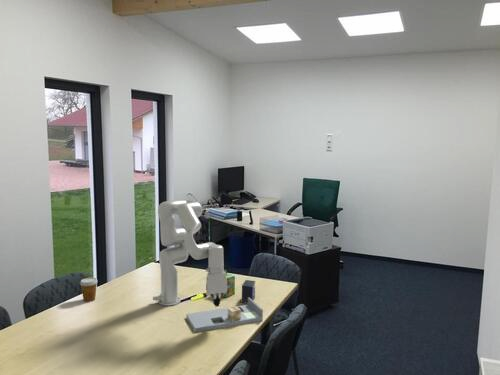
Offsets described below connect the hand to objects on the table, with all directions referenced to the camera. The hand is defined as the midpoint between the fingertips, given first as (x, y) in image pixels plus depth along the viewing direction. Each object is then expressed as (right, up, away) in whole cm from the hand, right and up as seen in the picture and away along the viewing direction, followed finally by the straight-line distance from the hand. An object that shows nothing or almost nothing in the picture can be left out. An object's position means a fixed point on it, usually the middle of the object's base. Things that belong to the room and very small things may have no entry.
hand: (216, 305), depth 201 cm
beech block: (+9, -8, +4) cm, 12 cm away
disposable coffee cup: (-77, -7, +33) cm, 84 cm away
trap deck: (+3, -10, +8) cm, 13 cm away
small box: (+16, -7, +35) cm, 39 cm away
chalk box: (+1, -6, +44) cm, 44 cm away
